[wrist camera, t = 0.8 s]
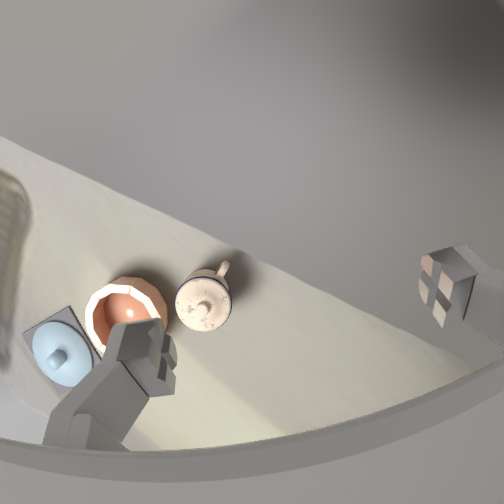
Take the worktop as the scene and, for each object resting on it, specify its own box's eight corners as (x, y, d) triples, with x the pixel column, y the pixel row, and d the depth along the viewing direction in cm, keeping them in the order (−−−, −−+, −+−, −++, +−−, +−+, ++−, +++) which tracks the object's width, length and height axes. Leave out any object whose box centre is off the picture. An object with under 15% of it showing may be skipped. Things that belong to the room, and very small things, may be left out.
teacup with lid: (214, 324, 59) (212, 348, 48) (172, 299, 58) (161, 318, 47) (248, 270, 59) (254, 284, 47) (205, 244, 58) (201, 251, 46)
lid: (105, 372, 58) (98, 383, 53) (59, 392, 58) (50, 402, 53) (67, 309, 56) (56, 317, 51) (23, 335, 55) (12, 343, 50)
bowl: (180, 329, 59) (176, 343, 52) (122, 356, 58) (112, 371, 52) (144, 264, 57) (134, 270, 50) (86, 295, 56) (72, 305, 50)
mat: (109, 372, 59) (108, 373, 58) (60, 393, 58) (59, 394, 58) (69, 306, 56) (68, 306, 56) (22, 333, 56) (21, 334, 55)
